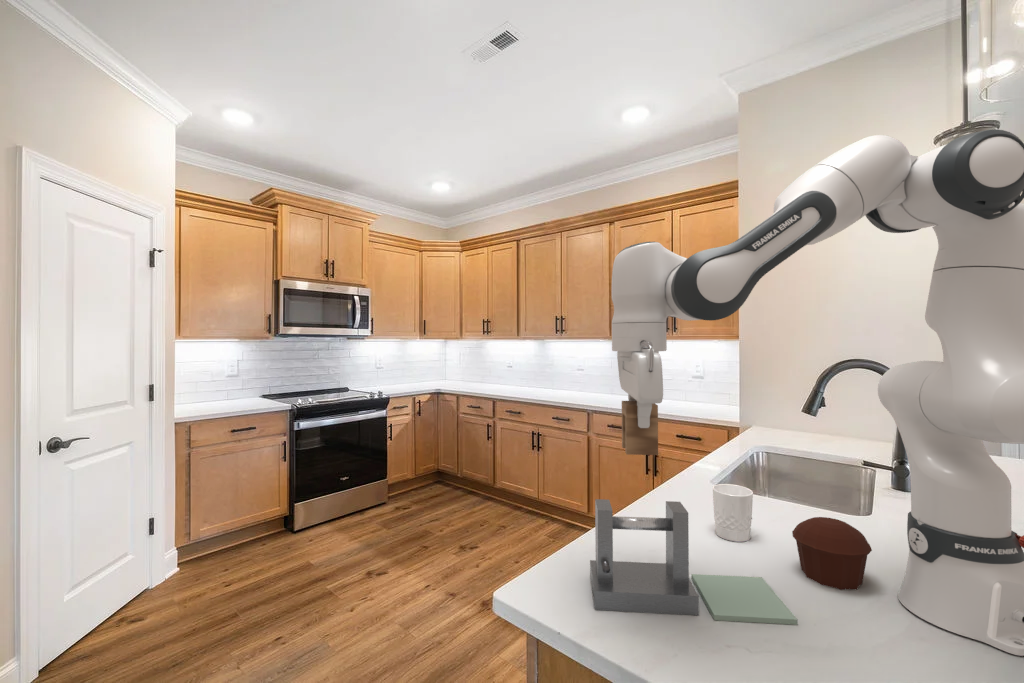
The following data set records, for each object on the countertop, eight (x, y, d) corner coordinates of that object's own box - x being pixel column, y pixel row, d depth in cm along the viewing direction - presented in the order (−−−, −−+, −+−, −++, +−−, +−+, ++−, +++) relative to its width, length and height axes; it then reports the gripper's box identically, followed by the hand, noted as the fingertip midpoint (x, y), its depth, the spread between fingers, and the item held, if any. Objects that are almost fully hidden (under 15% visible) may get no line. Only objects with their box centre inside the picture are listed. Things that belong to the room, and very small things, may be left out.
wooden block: (651, 447, 78) (651, 400, 78) (658, 455, 73) (657, 405, 73) (621, 446, 79) (621, 400, 79) (626, 454, 73) (626, 405, 73)
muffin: (855, 566, 85) (855, 513, 85) (885, 598, 74) (884, 538, 74) (784, 557, 88) (783, 506, 88) (802, 587, 78) (802, 530, 78)
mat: (761, 581, 80) (761, 577, 80) (797, 624, 68) (797, 619, 68) (691, 578, 81) (691, 574, 81) (714, 620, 69) (714, 614, 69)
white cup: (718, 524, 104) (718, 481, 104) (756, 534, 99) (756, 488, 99) (708, 536, 98) (708, 490, 98) (748, 547, 93) (748, 498, 93)
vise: (681, 580, 80) (681, 496, 80) (698, 615, 70) (698, 519, 70) (590, 576, 82) (589, 494, 82) (594, 609, 72) (593, 515, 72)
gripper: (673, 341, 65) (674, 437, 65) (646, 340, 85) (647, 413, 85) (629, 341, 66) (629, 436, 66) (612, 340, 86) (613, 413, 86)
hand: (639, 423), depth 76 cm, fingers closed on wooden block, 5 cm apart
